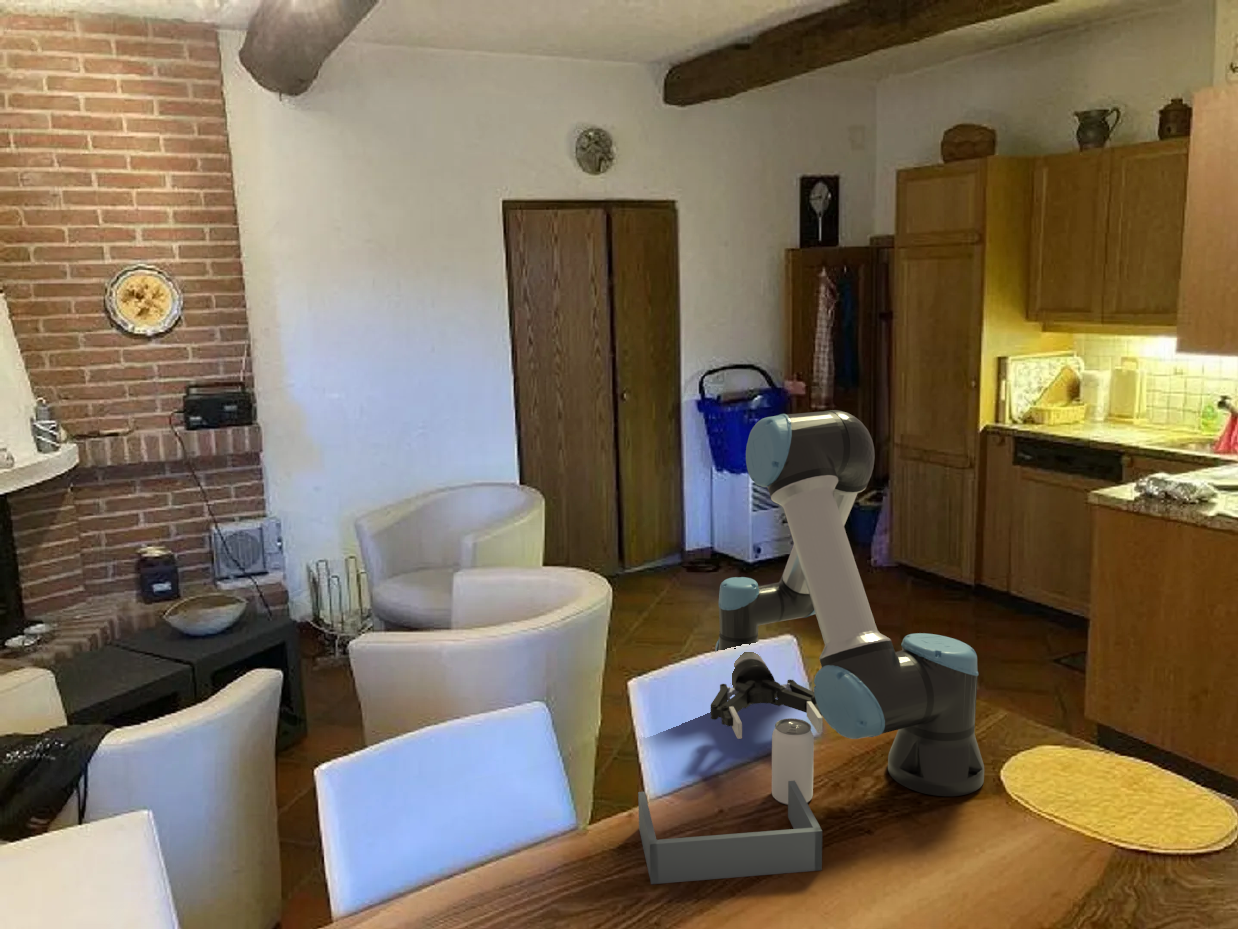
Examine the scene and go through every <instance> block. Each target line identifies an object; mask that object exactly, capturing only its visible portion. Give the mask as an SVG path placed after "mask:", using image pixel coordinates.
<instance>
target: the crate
mask: <svg viewBox="0 0 1238 929" xmlns="http://www.w3.org/2000/svg"><path fill="white" fill-rule="evenodd" d="M637 795H638V796H637V797H638V798H637V799H638V801H637V803H638V830H639V835H640V838H641V845H642V848H643V852H644V858H645V862H646V866H647V871H648V877H649V882H650V885H657V884H658V885H659V884H668V883H671V884H672V883H680V882H693V881H694V882H695V881H705V880H707V881H708V880H709V881H710V880H718V879H730V878H731V879H732V878H742V877H743V878H744V877H755V876H767V875H781V874H792V873H804V872H816V871H823V867H822V866H823V830H822V827H821V826H820V824H819V822H818V820H817V819H816V817H815V815H814V813H813V811H812V810H811V807H810V806H809V804H808V803H807V802H806V800H805V798H804V797H803V795H802V793H801V791H800V789H799V787H798V786H797V784H796V782H795V781H788V805H787V818H788V820H789V822H790V824H791V827H792V828H793V829H792V828H791V829H790V828H789V829H778V830H766V831H763V830H762V831H753V832H752V831H751V832H740V833H737V832H736V833H727V834H726V833H725V834H715V835H712V834H711V835H701V836H687V837H686V836H685V837H676V838H675V837H674V838H673V837H672V838H662V839H657V837H656V836H657V835H656V832H655V829H654V828H655V827H654V823H653V819H652V815H651V812H650V811H651V810H650V807H649V803H648V799H647V795H646V791H638V793H637Z"/></svg>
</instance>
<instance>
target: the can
mask: <svg viewBox="0 0 1238 929" xmlns="http://www.w3.org/2000/svg"><path fill="white" fill-rule="evenodd" d="M771 738H772V739H771V795H772V797H773V799H775V801H776V802H778V803H780V804H782V805H785V806H788V781H795V782H796V784H797V786H798V787H799V789H800V791H801V793H802V795H803V797H804V798H805V800H806V802H807V804H808V803H809V802H810V801H811V800H812V799H813V795H814V790H813V789H814V753H815V752H814V750H815V749H814V748H815V747H814V743H815V742H814V740H815V738H814V734H813V731H812V724H810V723H809V722H807V721H805V720H803V719H799V718H792V717H791V718H783V719H779V720H777V721H776V722H775V723H774V729H773V731H772V733H771Z"/></svg>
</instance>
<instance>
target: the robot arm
mask: <svg viewBox="0 0 1238 929" xmlns="http://www.w3.org/2000/svg"><path fill="white" fill-rule="evenodd" d="M745 449H746V450H745V463H746V470H747V472H748V475H749V478H750V479H751V481H752V482H754V484H755V485H756V486H759V487H761V488H767V489H768V492H769V497H770V499H771V501H772V502H773V503H775V504H777V505H779V506H781V507H782V508H783V511H784V516H785V518H786V520H787V524H788V528H789V531H790V534H791V537H792V538H791V539H792V541H793V546H792V549H791V551H790V553H789V556H788V559H787V562H786V564H785V568H784V570H783V572H782V575H781V577H780V579H779V581H778V582H773V583H769V584H764V585H762V584H761V585H759V584H758V582H757V581H756V580H755V579H753V578H751V577H745V576H741V577H738V576H735V577H733V576H732V577H729V578H726V579H724V580H723V581H722V582H721V583H720V585H719V592H718V593H719V594H718V614H719V617H718V618H719V634H718V640H717V641H716V644H715V650H714V651H715V652H716V651H718V650H725V649H727V648H731V647H736V646H741V645H742V644H749V645H750V644H751V643H756V642H759V626H761V625H762V626H763V625H768V624H772V623H773V624H774V623H779V622H784V621H789V620H797V619H804V618H808V617H810V616H813V615H815V616H816V619H817V622H818V626H819V630H820V633H821V635H822V639H823V643H824V648H823V650H822V652H821V654H820V655H819V658H818V659H819V662H820V665H821V668H820V669H819V670H817V672H816V674H815V675H814V680H813V684H814V685H815V686H813V691H812V690H810V689H808V688H807V687H804V686H802V685H800V684H798V683H797V682H796V681H795V680H794V679H787V681H786V682H787V683H786V684H781V683H780V682H777V681H776V680H775V678H774V675H773V673H772V672H771V670H770V669H769V667H768V665H767V664H766V662H765V661H764V659H763V658H762V656H761V655H760V654H759V655H760V656H759V655H758V654H756V653H754V652H744V653H743V654H742V655H740V657H739V658H738V659H737V660H736V661H735V663H734V667H735V669H734V671H733V673H732V685H733V687H730V686H728V685H727V684H726V683H721V684H719V691H718V693H717V694H716V696H715V697H714V699H713V700H712V702H711V703H710V719H711V720H712V721H713V720H714V721H715V720H718V718H720V719H721V724H722V725H724V726H725V727H726V726H727V727H731V728H732V730H733V733H734V735H735V736H736V738H737V739H738V740H739V739H743V723H742V721H741V719H740V716H739V714H738V713H739V712H740V711H741V710H743V709H748V707H750V706H751V705H759V704H770V705H771V704H772V705H774V706H777V707H781V706H785V707H788V708H791V709H794V710H797V711H800V712H803V713H806V717H807V719H808V721H809V722H810V723H811V726H813V728H814V729H815V731H816V732H817V733H818V734H822V733H823V719H824V720H825V722H826V723H827V724H828V725H829V727H830V728H832V730H835V732H836V733H838V734H839V735H840V736H842V737H844V738H847V739H851V740H858V739H864V738H874V737H878V736H880V735H883V734H887V733H891V732H895V731H896V735H895V736H894V739H893V742H892V745H891V747H890V749H889V752H888V756H887V771H888V773H889V775H890V777H891V778H892V779H893V780H894V781H895V782H897V783H898V784H899V785H901V786H902V787H905V788H907V789H908V790H912V791H914V792H917V793H920V794H921V793H922V794H923V795H931V796H936V797H958V796H959V797H961V796H964V795H969V794H972V793H974V792H976V791H978V790H979V789H981V787H982V786H983V785H984V782H985V781H984V780H985V764H984V762H983V758H982V755H981V751H980V748H979V744H978V742H977V739H976V735H975V734H976V733H975V730H976V726H975V725H976V724H975V723H976V710H977V693H978V692H977V691H978V678H979V677H978V676H979V671H978V655H977V653H976V651H975V649H974V648H973V647H971V645H969V644H968V643H965V642H963V641H961V640H959V639H957V638H952V637H949V636H946V635H940V634H933V633H925V632H923V633H921V632H919V633H918V632H917V633H910V634H907V635H905V636H904V637H903V639H902V642H901V649H902V650H898V651H895V649H894V645H893V641H892V639H891V638H889V636H888V637H887V636H886V635H884V634H882V633H880V631H879V630H878V628H877V625H876V623H875V618H874V615H873V613H872V610H871V607H870V603H869V600H868V597H867V594H866V591H865V587H864V584H863V581H862V578H861V576H860V572H859V569H858V566H857V563H856V561H855V560H856V559H855V556H854V554H853V550H852V547H851V544H850V541H849V538H848V535H847V533H846V532H847V531H846V528H845V525H846V522H847V520H848V517H849V515H850V512H851V510H852V508H853V506H854V504H855V500H856V499H857V496H858V494H859V493H862V492H863V491H865V490H866V489H867V487H868V484H869V482H870V479H871V477H872V474H873V470H874V465H875V456H876V455H875V446H874V442H873V439H872V436H871V434H870V432H869V430H868V428H867V427H866V426H865V425H864V423H863V422H862V421H861V420H859V419H858V418H857V417H855V415H852V414H850V413H849V412H845V411H842V410H838V409H834V410H833V409H832V410H831V409H830V410H829V409H827V410H824V411H814V412H802V413H787V414H786V413H780V414H777V415H774V416H767V417H764V418H763V417H762V418H761V419H760V420H758V421H757V422H756V423H755V425H754V426H753V427H752V429H751V430H750V432H749V435H748V439H747V443H746V448H745ZM734 649H736V648H734ZM732 685H731V686H732Z"/></svg>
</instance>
